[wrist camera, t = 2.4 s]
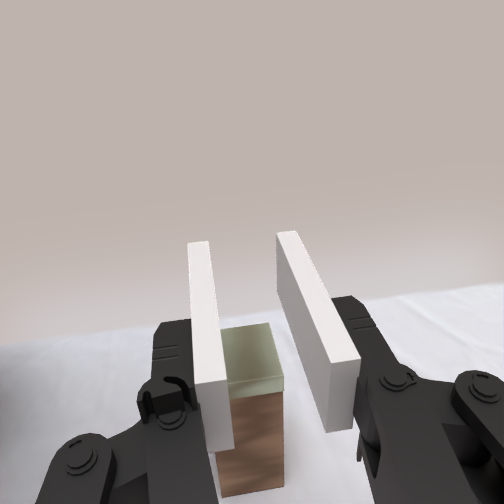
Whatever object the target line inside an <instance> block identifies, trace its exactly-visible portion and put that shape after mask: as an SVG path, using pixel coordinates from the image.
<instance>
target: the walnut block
mask: <svg viewBox="0 0 504 504" xmlns="http://www.w3.org/2000/svg"><path fill="white" fill-rule="evenodd" d="M220 332H221V339H222V347H223V354H224V362H225V369H226V377H227V385H228V394H229V403H230V412H231V420H232V429H233V438H234V447H235V449H230V450H224V451H218V452H215V455H216V462H217V468H218V474H219V481H220V487H221V494H222V498H225V497H230V496H235V495H241V494H246V493H252V492H257V491H263V490H268V489H274V488H279V487H284V438H283V391H284V374H283V371H282V367H281V364H280V360H279V357H278V353H277V350H276V346H275V343H274V339H273V336H272V332H271V329H270V325H269V323H263V324H256V325H249V326H242V327H234V328H227V329H220Z"/></svg>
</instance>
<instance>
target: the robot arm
mask: <svg viewBox="0 0 504 504" xmlns="http://www.w3.org/2000/svg"><path fill="white" fill-rule="evenodd" d="M276 252H277V292H278V295H279V298H280V301H281V303H282V307H283V310H284V312H285V315H286V318H287V321H288V324H289V327H290V330H291V333H292V336H293V339H294V342H295V345H296V347H297V350H298V353H299V356H300V359H301V362H302V365H303V368H304V371H305V374H306V377H307V380H308V383H309V385H310V388H311V391H312V394H313V397H314V400H315V403H316V406H317V409H318V412H319V415H320V418H321V420H322V423H323V426H324V429H325V432H326V433H329V432H335V431H341V430H347V429H352V426H353V418H354V417H355V420H356V422H357V425H358V427H359V429H360V434H359V440H358V447H357V462H360V461H361V458H362V457H363V461H364V464H365V468H366V472H367V476H368V480H369V483H370V487H371V491H372V495H373V499H374V503H375V504H504V382H503V381H502V380H501V379H499V378H498V377H496V376H494V375H491V374H489V373H487V372H482V371H477V370H472V371H465V372H463V373H461V374H459V375H458V377H457V378H456V380H455V383H452V382H443V381H434V380H428V379H423V378H421V377H418V375H417V374H416V373H415V372H414V371H413V370H412V369H410V368H409V367H407V366H405V365H403V364H400V363H399V362H398V361H397V359H396V357H395V356H394V354H393V352H392V351H391V349H390V347H389V346H388V344H387V342H386V341H385V339H384V337H383V336H382V334H381V333H380V331H379V329H378V328H377V327H376V324H375V323H374V321H373V319H372V318H371V316H370V314H369V313H368V311H367V309H366V308H365V306H364V305H363V304H362V303H361V302H359V301H358V300H357V299H355V298H354V297H353V296H345V297H338V298H330V296H329V294H328V293H327V290H326V288H325V287H324V285H323V283H322V281H321V279H320V277H319V275H318V273H317V271H316V269H315V267H314V265H313V263H312V261H311V259H310V257H309V255H308V253H307V251H306V249H305V247H304V245H303V243H302V241H301V239H300V237H299V235H298V234H297V232H296V231H288V232H278V233H276ZM188 264H189V282H190V283H189V284H190V301H191V302H190V303H191V319H184V320H177V321H169V322H162V323H161V324H160V325H159V327H158V329H157V330H156V332H155V334H154V337H153V353H152V370H151V379H150V380H148V381H147V382H146V383H144V384H143V386H142V387H141V389H140V391H139V392H138V396H137V405H138V409H139V412H140V416H141V419H140V421H139V422H137V423H136V424H135V425H134V426H133V427H131V428H129V429H127V430H126V431H124V432H122V433H119V434H117V435H115V436H113V437H111V438H109V439H107V438H105V437H103V436H102V435H100V434H94V433H87V434H83V435H79V436H77V437H75V438H73V439H71V440H69V441H68V442H66V443H65V444H64V445H63V446H62V447H61V448H60V449H59V450H58V451H57V452H56V454H55V456H54V458H53V459H52V461H51V463H50V466H49V469H48V471H47V474H46V477H45V479H44V482H43V484H42V487H41V490H40V492H39V495H38V498H37V500H36V503H35V504H219V503H218V498H217V494H216V489H215V484H214V480H213V475H212V471H211V466H210V462H209V457H208V453H213V452H218V451H224V450H230V449H235V447H234V438H233V429H232V420H231V412H230V403H229V394H228V385H227V377H226V369H225V362H224V354H223V347H222V339H221V332H220V325H219V317H218V310H217V302H216V295H215V287H214V280H213V273H212V265H211V258H210V250H209V243H208V241H202V242H194V243H188Z"/></svg>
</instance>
